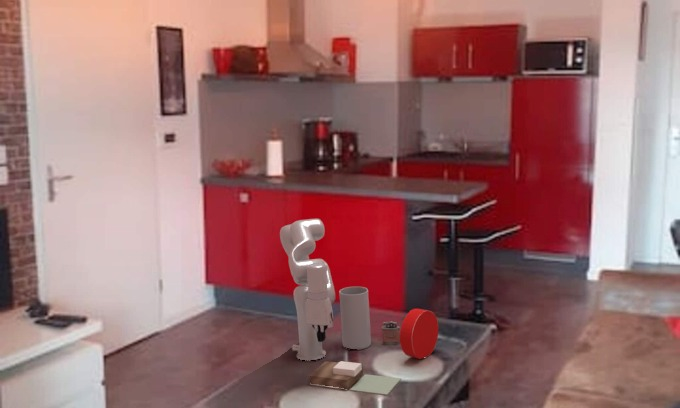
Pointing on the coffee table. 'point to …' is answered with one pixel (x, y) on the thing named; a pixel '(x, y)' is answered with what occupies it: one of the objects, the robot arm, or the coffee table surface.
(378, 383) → the mat
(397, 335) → the lighter
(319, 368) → the plate
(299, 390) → the coffee table surface
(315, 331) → the robot arm
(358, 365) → the tile
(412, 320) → the toy clock
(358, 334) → the cylinder vase
